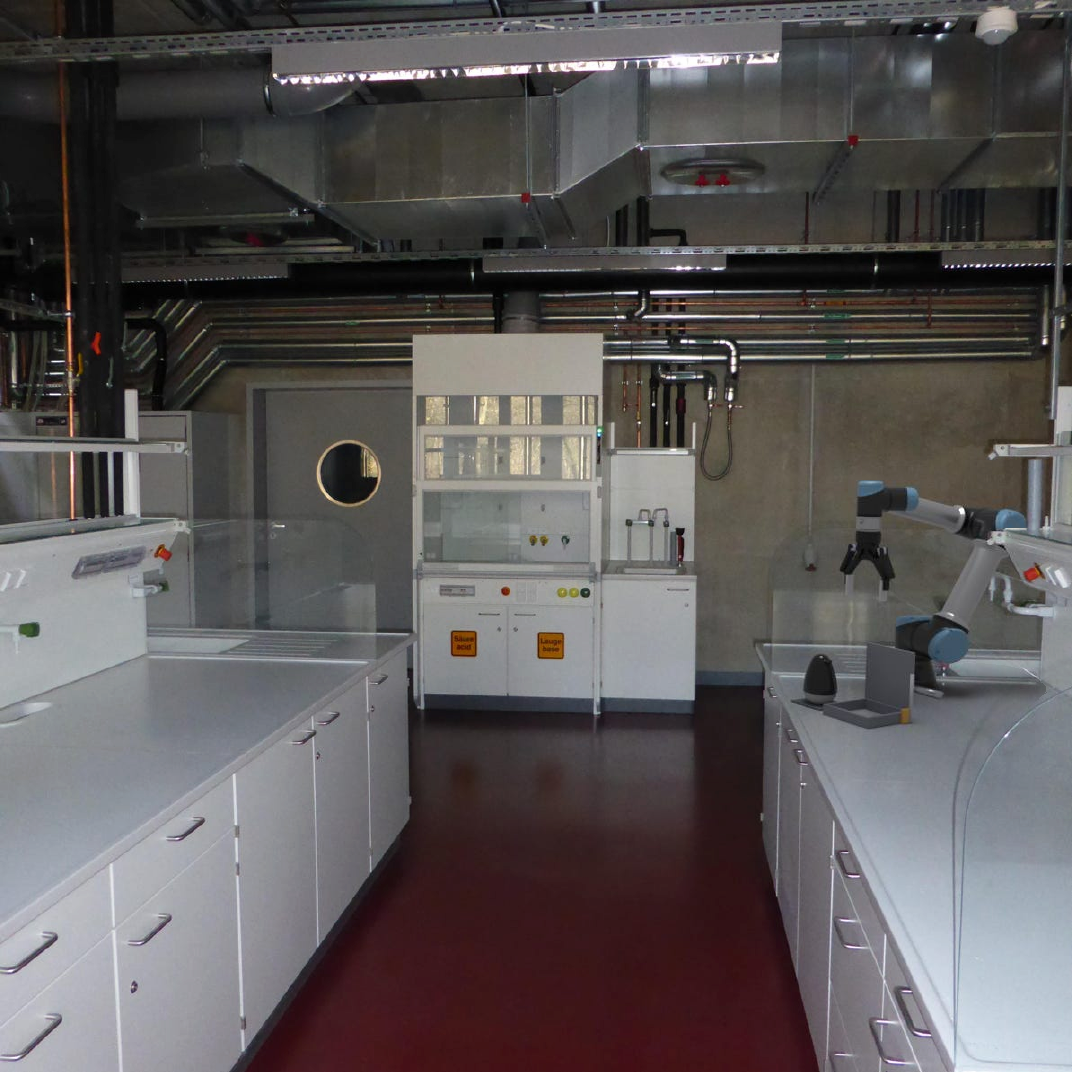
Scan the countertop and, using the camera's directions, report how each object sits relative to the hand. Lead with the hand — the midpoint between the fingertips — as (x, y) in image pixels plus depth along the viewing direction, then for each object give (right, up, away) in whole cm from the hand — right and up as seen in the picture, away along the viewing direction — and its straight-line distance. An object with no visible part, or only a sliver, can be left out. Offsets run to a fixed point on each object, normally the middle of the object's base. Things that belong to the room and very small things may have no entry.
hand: (865, 598), depth 299 cm
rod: (+21, -31, +7) cm, 38 cm away
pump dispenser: (-16, -32, -6) cm, 36 cm away
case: (-7, -34, -21) cm, 40 cm away
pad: (-16, -32, -6) cm, 36 cm away
